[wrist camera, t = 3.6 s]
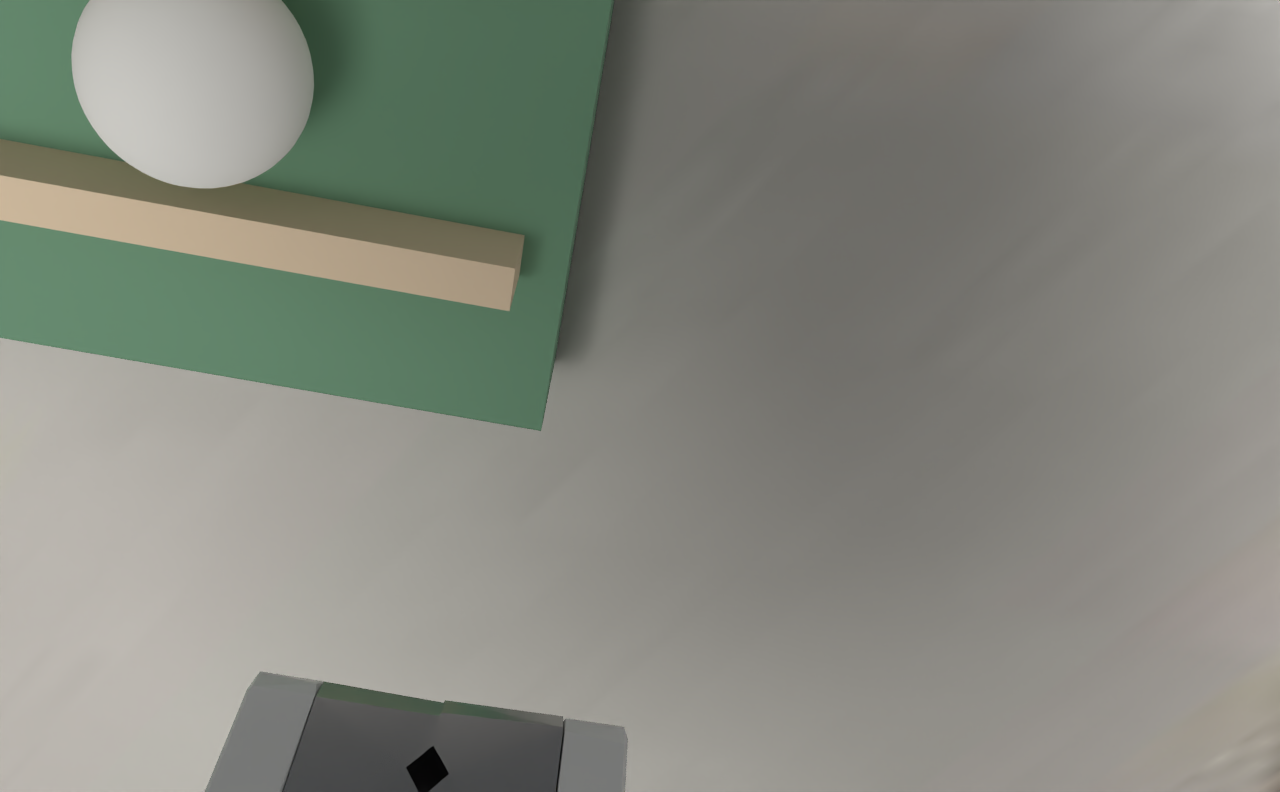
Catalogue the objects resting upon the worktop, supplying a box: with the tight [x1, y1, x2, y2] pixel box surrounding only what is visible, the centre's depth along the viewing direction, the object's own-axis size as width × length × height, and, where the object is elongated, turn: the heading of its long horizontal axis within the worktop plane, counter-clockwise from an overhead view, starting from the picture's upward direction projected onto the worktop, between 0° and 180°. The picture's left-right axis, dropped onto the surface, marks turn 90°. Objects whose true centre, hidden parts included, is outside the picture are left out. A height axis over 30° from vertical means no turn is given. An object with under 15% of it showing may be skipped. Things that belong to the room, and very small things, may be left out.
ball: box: [71, 0, 314, 188], centre depth 20 cm, size 4×4×4 cm
